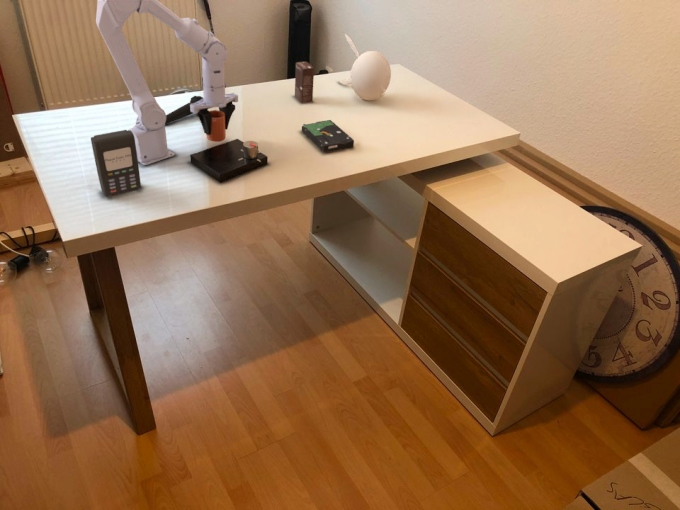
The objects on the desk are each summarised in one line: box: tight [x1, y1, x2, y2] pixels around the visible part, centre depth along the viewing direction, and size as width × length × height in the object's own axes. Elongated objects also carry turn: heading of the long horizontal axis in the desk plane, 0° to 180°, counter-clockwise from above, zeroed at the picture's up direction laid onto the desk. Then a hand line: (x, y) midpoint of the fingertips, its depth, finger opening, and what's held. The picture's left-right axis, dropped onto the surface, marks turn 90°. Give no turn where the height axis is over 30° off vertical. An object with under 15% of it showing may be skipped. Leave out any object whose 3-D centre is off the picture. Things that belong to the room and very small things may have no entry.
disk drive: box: [301, 119, 355, 153], centre depth 166 cm, size 10×3×15 cm
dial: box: [243, 140, 259, 159], centre depth 149 cm, size 4×4×4 cm
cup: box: [205, 109, 227, 143], centre depth 155 cm, size 5×5×7 cm
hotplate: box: [189, 138, 269, 184], centre depth 149 cm, size 17×14×3 cm
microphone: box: [165, 95, 204, 126], centre depth 167 cm, size 6×6×20 cm
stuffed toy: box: [339, 33, 392, 101], centre depth 192 cm, size 19×14×25 cm
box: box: [294, 61, 315, 104], centre depth 185 cm, size 6×4×12 cm
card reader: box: [90, 129, 142, 197], centre depth 130 cm, size 9×4×15 cm, turn 126°
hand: (215, 130), depth 155 cm, fingers closed on cup, 5 cm apart
